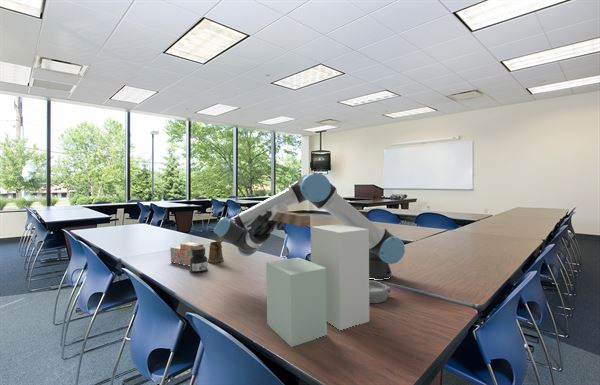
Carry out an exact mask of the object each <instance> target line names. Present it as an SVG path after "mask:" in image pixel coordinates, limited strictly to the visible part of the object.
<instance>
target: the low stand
mask: <svg viewBox="0 0 600 385" xmlns="http://www.w3.org/2000/svg"><path fill="white" fill-rule="evenodd" d="M265 264H266V265H265V267H266V268H265V269H266V272H265V274H266V276H265V277H266V324H267V326H268V327H269V328H271V330H273V332H275V333H276V335H278V337H280V339H282V340H283V341H284V342H285V343H287V344H288V345H289V346H290V348H293V347H296V346H299V345H301V344H305V343H308V342H312V341H314V340H317V339H320V338H319V337H321V338H323V337H322V336H324V337H326V336H325V335H327V336H328V323H327V296H326V268H325V267H322V266H320V265H317V264H314V263H312V262H311V261H309V260H307V259H304V258H301V257H292V258H285V259H279V260H272V261H271V260H270V261H266V262H265ZM316 338H317V339H316Z"/></svg>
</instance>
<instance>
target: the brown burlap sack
mask: <svg viewBox="0 0 600 385" xmlns="http://www.w3.org/2000/svg"><path fill="white" fill-rule="evenodd" d="M214 240H215V241H211V242H210V244H209V251H208V252H209V253H208V257H207V261H208V263H209V262H212V263H211V264H217V262H219V263H222V262H224V261H225V259H224V257H223V250H222V248H223V246H222V242H223V241H225V239H223V238H222V237H219V235H217V234H216V236H215V239H214Z"/></svg>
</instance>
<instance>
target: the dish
mask: <svg viewBox="0 0 600 385" xmlns="http://www.w3.org/2000/svg"><path fill="white" fill-rule="evenodd" d="M391 291H392V290H391V287H390V286H388V285H387V284H384V283H382V282H380V281H378V280H369V304H378V303H379V304H380V303H383V302H385V301H387V299H388V296H389V293H391Z"/></svg>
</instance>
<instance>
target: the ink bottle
mask: <svg viewBox="0 0 600 385" xmlns="http://www.w3.org/2000/svg"><path fill="white" fill-rule="evenodd" d="M192 256H193V257H192V258H191V259H190V267H189V272H190V273H192V272H194V273H193V274H199V273H198V272H200V273H203V272H204V271H205V272H207V271H208V269H209V266H208V265H209V264H208V263H209V262H208V257H207V256H206V247H204V246H203V247H196V248H192ZM205 272H204V273H205Z"/></svg>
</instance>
